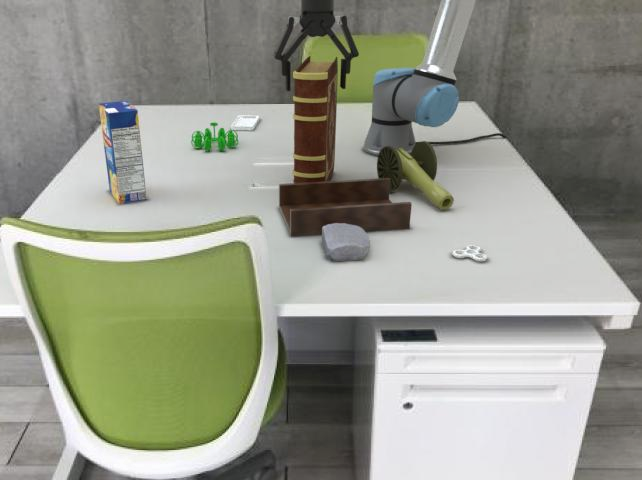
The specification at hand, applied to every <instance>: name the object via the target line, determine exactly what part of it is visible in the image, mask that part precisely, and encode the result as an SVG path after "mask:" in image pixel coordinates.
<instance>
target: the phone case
mask: <svg viewBox="0 0 642 480" xmlns="http://www.w3.org/2000/svg"><path fill="white" fill-rule="evenodd" d="M260 117H261V116H260V115H258V114H254V115H252V114H238V115H237V117H236V118H235V119H234V121H233V122H232V123H231V125H230V130H234V131H254V130H255V128H256V126H257V125H258V123H259V122H260V120H261V119H260Z"/></svg>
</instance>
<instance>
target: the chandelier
mask: <svg viewBox="0 0 642 480" xmlns="http://www.w3.org/2000/svg"><path fill="white" fill-rule="evenodd" d="M209 125H210V126H211V127H213V133H212V131H211V129H210V128H209V127H206V128H205V130H204V132H203V131H200V130H196V131H194V132H193V133H192V134H191V141H190V144H191V147H193V148H194V149H195V150H200V149H202V148H204V151H205V152H207V153H208V152H210V151H211V150H212V146H213V145H212V143H213V142H215V143H216V142H217V149H218V150H220V152H225V150H226V147H227V148H229V149H235V148H236V147H237V146H238V144H239V139H238V138H239V137H238V132H236V130H231V129H229V130H227V131H225V128H224V127H220V128H219V129H218V131H217V132H218V133H217V137H216V127H217V126H219V124H218V122H210V123H209Z"/></svg>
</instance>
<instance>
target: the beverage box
mask: <svg viewBox="0 0 642 480" xmlns="http://www.w3.org/2000/svg"><path fill="white" fill-rule="evenodd" d="M98 110H99V118H100V126H101V134H102V140H103V148H104V155H105V164H106V173H107V179H108V188H109V192H110V193H111V195H112V196H113V197H114V199H115V200H116V202H117V203H118V204H119V205H124V204H131V203H136V202H137V203H138V202H144V201H145V202H146V201H147V200H148V197H147V188H146V181H145V180H146V179H145V169H144V160H143V158H144V157H143V149H142V139H141V130H140V120H139V111H138V109H137V108H136V107H134V106H133V105H132V104H131V103H130V102H128V101H127V100H120V101H111V102H100V103H98Z"/></svg>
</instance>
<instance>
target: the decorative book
mask: <svg viewBox="0 0 642 480" xmlns="http://www.w3.org/2000/svg"><path fill="white" fill-rule="evenodd" d="M338 62H339V61H338V56H336V57H335V58H334V59H333V62H332V61H331V62H328V61H327V62H326V61H325V62H324V61H311V56H310V55H309V56H308V57H306V58H305V59H304V60H303V61H302V62H301V64H300V65H298V67H297V68H296V69H295V70H294V71H293V73H292V78H293V79H294V85H293V86H294V87H293V88H294V90H293V91H294V92H293V93H294V95H293V96H292V101H293V102H294V103H293V104H294V105H293V107H294V109H293V110H294V111H293V114H292V119H293V121H294V122H293V134H294V135H293V153H292V158H293V170H292V175H293V183H305V182H323V181H332V178H333V176H334V171H335V160H336V159H335V158H336V136H337V134H336V132H337V106H338V104H337V102H338V81H339V80H338V77H339V75H338V73H339V67H338V66H339V63H338Z"/></svg>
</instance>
